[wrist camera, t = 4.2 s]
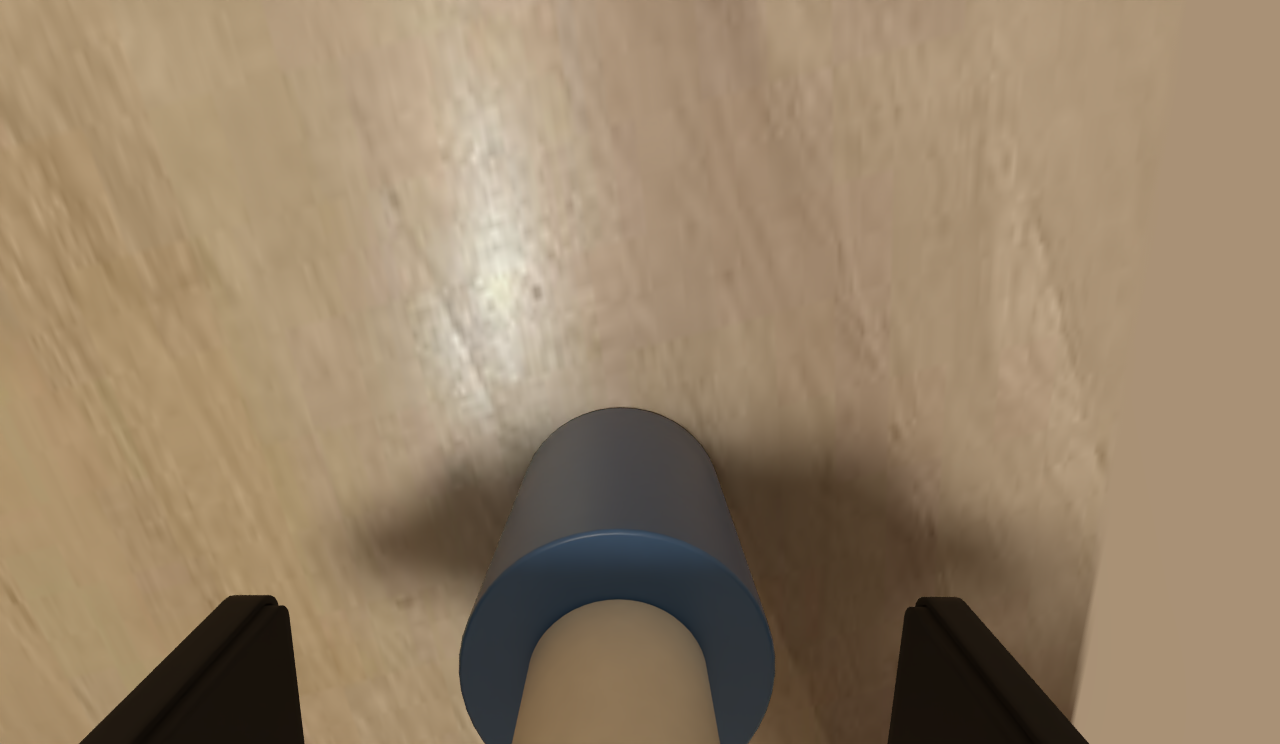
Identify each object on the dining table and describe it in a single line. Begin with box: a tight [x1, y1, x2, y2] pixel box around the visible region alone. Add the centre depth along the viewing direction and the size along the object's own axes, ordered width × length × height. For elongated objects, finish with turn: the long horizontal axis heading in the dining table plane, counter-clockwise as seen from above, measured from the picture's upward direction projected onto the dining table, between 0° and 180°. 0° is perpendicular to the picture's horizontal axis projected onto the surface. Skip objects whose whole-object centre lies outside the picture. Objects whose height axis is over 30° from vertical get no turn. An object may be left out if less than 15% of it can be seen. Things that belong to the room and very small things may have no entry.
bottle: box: [459, 408, 775, 744], centre depth 12 cm, size 5×5×10 cm
